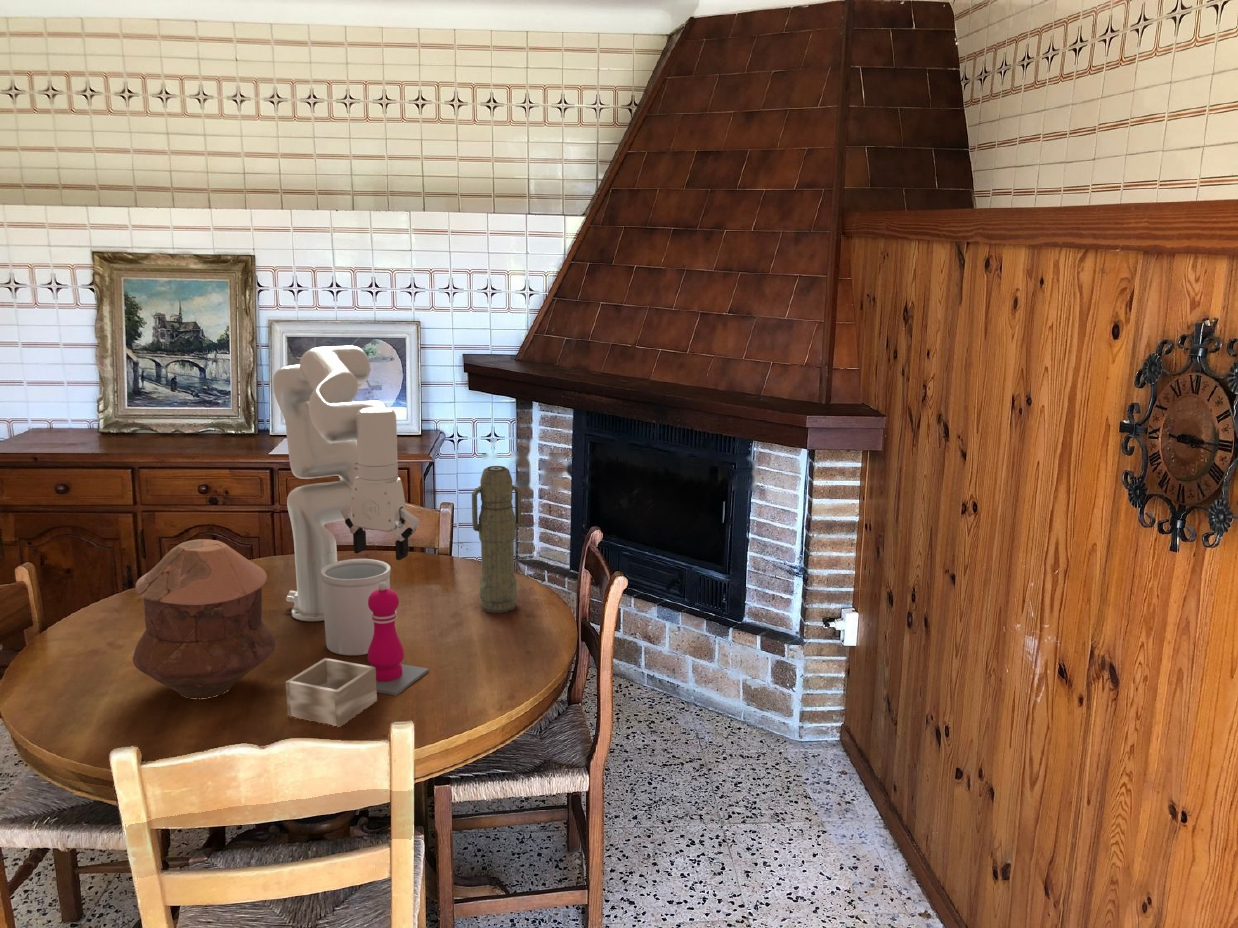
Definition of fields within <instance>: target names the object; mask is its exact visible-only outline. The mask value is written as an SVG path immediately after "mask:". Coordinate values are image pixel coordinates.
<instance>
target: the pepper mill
mask: <svg viewBox="0 0 1238 928" xmlns="http://www.w3.org/2000/svg"><path fill="white" fill-rule="evenodd" d="M378 588H379V589H378V590H375V591H374V592H372V593H371V595H370V596H369V599H368V606H369V609H370V610H371V611H372V614H371V616H372V618H371V620H372V621H373V622H374V635H373V639H372V641H371V644H370V646H369V649H368V654H367V661H368V663H369V664H370V666H371V665H372V667H375V669H376V681H381V682H385V681H392V680H396V679H398V678H399V677H401V676H402V665H401V664H402V661H403V660H404V658H405V652H404V651H405V650H404V647H403V644H402V642H401V640H400V638H399V636H398V633H397V631H396V630H397V629H396V625H395V624H396V620H397V619H398V616H397V614H398V613H397V608H398V607H399V603H400V600H399V599H400V598H399V596H398V594H397V592H396V591H394V590H393V589H391V588H390V589H387V584H386V583H385V582H381V583H379V585H378Z"/></svg>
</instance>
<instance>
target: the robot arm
mask: <svg viewBox="0 0 1238 928" xmlns="http://www.w3.org/2000/svg"><path fill="white" fill-rule="evenodd" d="M370 371H371V364H370V359H369V357H368V355H367V354H366V352H365V351H364V350H363V349H362V348H360V347H358V346H356V345H336V346H335V345H333V346H318V347H312V348H310V349H308V350H307V351H305V353H303V354H302V356H301V358H300V360H299V364H291V365H286V366H282V367H280V368H279V369H278V370H276V371H275V373H274V375H273V383H272V385H273V393H274V396H275V399H276V403H277V405H278V406H279V409H280V412H281V413H282V416H283V419H284V423H285V432H286V440H287V441H286V442H287V450H288V451H287V452H288V459H289V466H290V470H291V473H292V474H293V476H294V477H296V478H298V479H305V480H309V479H319V478H326V477H327V478H328V477H335V476H338V477H339V480H337V481H335V480H334V481H330V482H329V481H328V482H318V483H311V484H303V485H301V486H297V487H295V488H294V489H292V490H291V491H290V492H289V493H288V496H287V500H286V503H287V504H286V505H287V511H288V516H289V518H290V520H289V521H290V524H291V529H292V537H293V550H294V563H295V565H294V566H295V578H296V590H289V591H288V593H287V596H286V597H285V600H286V602H290V603H294V606H293V607H292V609H291V616H292V618H294V619H296V620H299V621H303V622H321V621H322V622H323V621H324V605H323V584H322V579H321V569H322V568H323V567H325V566H326V565H329V564H331V563H334V562H338V552H337V541H336V538H335V537H334V535H333V534H332V533H331V532H330V530H328V529H327V528H326V527H325V525H327V524H330V523H335V522H336V523H337V522H341V521H342V522H344V523H345V524H346V526H347V527H348V528H349V533H350V534H352V541H353V553H354V554H359V553H361V552H364V551H365V550H366V549H367V533H366V530H372V531H378V532H385V533H386V532H388V533H390V532H392V533H393V534H394V535H395V537H396V539H397V540H395V560H397V561H401V560H402V559H405V558H407V557H408V555H409V539H410V538H411V536H412V535H413V534H415V532H416V530H417V528H418V525H419V523H420V519H419V518H418V517H417V516H415V514H412V513H411V512H410V511H408V510H407V509H406V508H407V507H406V498H405V491H404V487H403V482H402V480H401V479H402V478H401V477H399V464H398V434H397V432H398V430H397V429H398V426H397V414H396V412H395V410H393V409H391V408H389V407H388V406H387V404H385V403H384V402H383V401H381V400H375V399H373V400H361V401H354V400H355V399H356V397H357V396H358V392H359V390H360V388H362V387H363V385H364V384H366V382H367V380H368V379H369V376H370ZM406 522H407V523H408V526H406ZM365 529H366V530H365Z"/></svg>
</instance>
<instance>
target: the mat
mask: <svg viewBox="0 0 1238 928" xmlns="http://www.w3.org/2000/svg"><path fill="white" fill-rule="evenodd" d="M400 664H401V665H402V676H401V677H399V678H398V679H396V680H392V681H385V682H381V681H376V690H377V693H379V694H386V695H391V696H398V695H399V694H400V693H401V692H403V691H404V690H406V689H407V688H409V687H410V686H411V685H413V684H414V683H415V682H417V681H418V680H419V679H421V678H422V677H423V676H424V675H426V674H427V673H429V668H426V667H420V666H415V665H410V664H405V663H400ZM370 666H372V665H371V664H370Z"/></svg>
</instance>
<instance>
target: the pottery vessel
mask: <svg viewBox="0 0 1238 928" xmlns="http://www.w3.org/2000/svg"><path fill="white" fill-rule="evenodd" d="M267 577H268V575H267V572H266V571H265V570H264V568H262V567H260V566H258V565H257V564H256V563H254V562H252V561H251V560H249V559H247V558H246V557H245V556H243V555H241V553H239V552H237V550H235V549H233V548H232V547H230V546H229V545H228V544H226V543H225V542H222V541H221V540H217V539H215V540H214V539H208V538H206V539H205V538H203V539H202V538H201V539H200V538H199V539H193V540H186V541H184V542H183V541H182V542H181V543H179V544H178V545H176V546H174V547H173V548H172V549H170V550H169V551H168V552H167V553H166V554H165V555H164V556H163V557H162V558H161V559H160V561H159V562H158V563H157V564H156V565H155V566H154V567H153V568H151V570H149V571H148V572H147V573H145V574H144V575H142V576H141V577H139V578H138V579H137V581H136V583H135V587H134V592H135V593H136V594H137V595H138V596H139V597H140V598H142V599H143V603H144V624H145V631H143V633H142V635H141V637H140V638H139V640H138V641H137V644H136V646H135V649H134V652H133V656H132V663H133V665H134V667H135V668H136V669H137V670H139V672H142V673H143V674H144V675H147V676H148V677H150V678H152V679H153V680H154V681H157V682H158V683H160V684H162V685H165V686H167V688H169V689H171V690H173V691H175V692H177V693H179V695H180V696H182V695H183V696H185V697H188V698H197V699H199V698H200V699H201V698H208V697H213V696H216V695H221V694H223V693H224V692H226V691H227V690H230V689H231V688H232V686H233V687H234V685H235V683H236V682H238V681H239V680H240V679H242V678H244V677H245V676H246V675H247V674H248V673H249V672H250V671H252V670H253V669H255V668H256V667H257V666H259V665H261V664H262V663H263V662H264V661H266V660H267V658H269V656H270V655H271V654H272V653H273V652H274V650H275V649H276V639H275V637H274V635H273V634H272V632H271V630H270V629H269V626H267V624H266V623H265V622H264V621H263V619H262V612H263V607H262V605H263V594H262V593H263V592H262V591H263V590H262V587H263V586H264V585H265V584H266V582H267ZM231 690H232V689H231ZM223 695H224V694H223ZM183 696H182V697H183ZM221 696H222V695H221Z"/></svg>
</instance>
